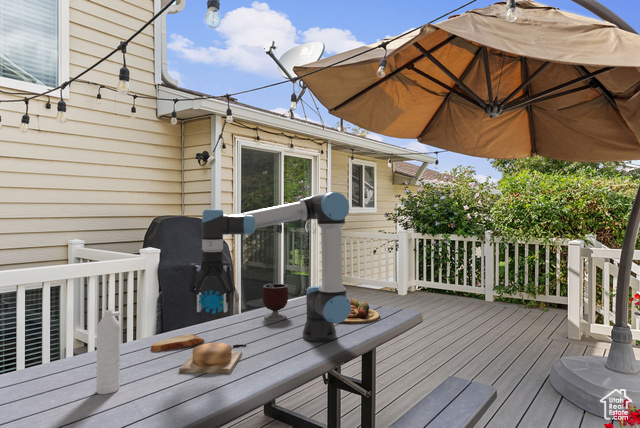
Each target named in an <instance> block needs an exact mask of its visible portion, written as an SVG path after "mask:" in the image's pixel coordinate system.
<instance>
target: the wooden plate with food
mask: <svg viewBox="0 0 640 428" xmlns="http://www.w3.org/2000/svg"><path fill="white" fill-rule="evenodd" d="M349 301H350V304H351V311H350V314H349V316H348V317H347V318H346V319H345V320H344V321H342V322H340V323H339V324H342V325H343V324H344V325H345V324H346V325H362V324H369V323H373V322H376V321H378V320H379V319H380V318H381V316H380V313H379V312H377V311H376V310H374V309H371V308H370V305H369V304H368V303H367V302H366V301H362V302H361V303H360V302H359V301H358V300H357V299H355V298H351V299H350V300H349Z"/></svg>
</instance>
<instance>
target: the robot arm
mask: <svg viewBox="0 0 640 428" xmlns="http://www.w3.org/2000/svg"><path fill="white" fill-rule="evenodd" d="M349 212H350V203H349V201H348V199H347V197H346V196H345V195H344V194H343V193H340V192H337V191H327V192H322V193H317V194H315V195H311V196H308V197H305V198H301V199H299V200H298V201H296V202H293V203H292V202H291V203H286V204H282V205H276V206H271V207H266V208H259V209H255V210H250V211H246V212H241V213H234V214H225V213H224V210H223V209H214V208H213V209H211V208H209V209H207V208H206V209H204V210H203V211H202V219H201V220H202V221H201V243H202V244H201V245H202V246H201V247H202V248H201V250H202V252H201V264H200V265H194V266H193V268H192V269H193V272H192V278H191V282H190V286H189V290H188V291H189V292H190V293H192V294H194V303H196V313H200V312H201V311H202V308H201V305H202V303H199V300H200V299H201V298H200V295H202V292H201V290H202V288H203V285H204V284H205V282H206V280H207V278H208V277H216V278H217V279H218V281H219V283H220V285H221V287H222V289H223V290H224V294H223V296H224V298H223V300H224V309H223V313H227V312H228V308H229V307H228V304H229V303H230V302H231V294H232V293H234V292H235V291H236V287H235V282H234V278H233V274H232V268H233V267H232V265H226V264H224V252H223V250H224V235H245V236H247V235H252V234H254V233H255V231H256V229H259V228H265V227H269V226H275V225H279V224H283V223H288V222H293V221H298V220H302V221H310V220H317V226H318V227H319V228H320V230H321V231H320V236H321V241H320V243H321V285H313V286H309V287H307V288H306V293H305V296H306V321H305V325H304V326H303V327H304V328H303V330H302V339H303V340H306V341H307V342H314V343H325V342H330V341H331V342H332V341H334V340H335V339H336V338H337V330H336V327H335V324H341V323H340V322H342V321H344V320H345V319H346V318H347V317H348V316H349V314H350V311H351V304H350V301H351V300H350V299H349V298H348V297H347V288H346V287H345V286H344V284H343V247H342V245H343V242H342V241H343V238H342V237H343V236H342V234H343V233H342V228H343V227H344V225H346V217H347V215H348V214H349ZM223 270H224V271H225V273H226V279H227V281H228V282H226V280H225V277H224V274H223V273H222V272H223ZM200 271H203V273H202V275H201V277H200V280H199V282H197V281H198V279H199V278H198V277H199V273H200ZM197 283H198V284H197ZM227 283H228V284H227Z"/></svg>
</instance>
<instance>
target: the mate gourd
mask: <svg viewBox="0 0 640 428" xmlns="http://www.w3.org/2000/svg"><path fill="white" fill-rule="evenodd" d="M261 295H262V303H263V305H264V307H265V308H266V309H268V310H270V311H272V313H268V314H264V315H263V319H265V320H266V321H283V320H286V319H287V317H288V316H287V314H285V313H280V312H279V311H280V310H283V309H284V308H285V307H286V306H287V305H288V299H289V288H288V285H287V284H286V283H285V284H284V283H270V282H268V283H267V284H264V285H263V288H262V292H261Z"/></svg>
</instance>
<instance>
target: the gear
mask: <svg viewBox="0 0 640 428" xmlns="http://www.w3.org/2000/svg"><path fill="white" fill-rule="evenodd" d="M208 293H209V294H208ZM213 293H214V290H212V289H210V290H209V292H208V291H207V290H206V291H203V294H202V293H201V295H200V298H201V299H200V300H199V303H201V310H203V309H205V308H206V309H205V312H206V314H207V313H210V310H211V314H214V315H215V314H216V312H217V313H221V312H222V310H224V294H220V292H219V291H217V290H216V291H215V293H214V294H213ZM216 309H217V310H216Z"/></svg>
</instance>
